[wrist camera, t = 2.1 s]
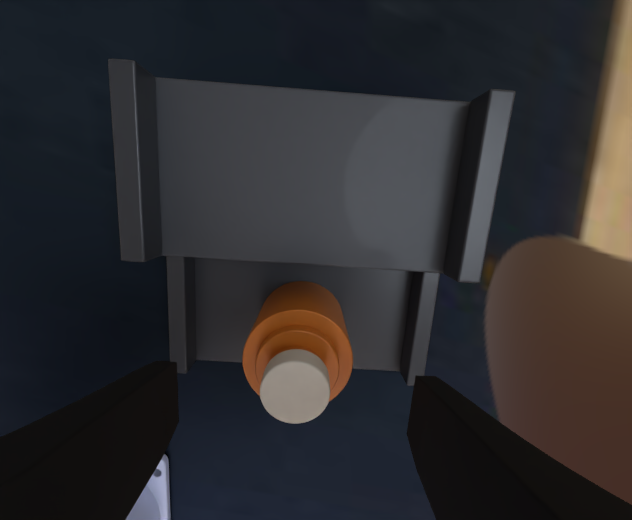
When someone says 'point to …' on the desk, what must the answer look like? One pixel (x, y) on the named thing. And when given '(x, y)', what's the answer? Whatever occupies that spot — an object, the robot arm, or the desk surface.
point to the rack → (303, 204)
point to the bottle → (298, 352)
